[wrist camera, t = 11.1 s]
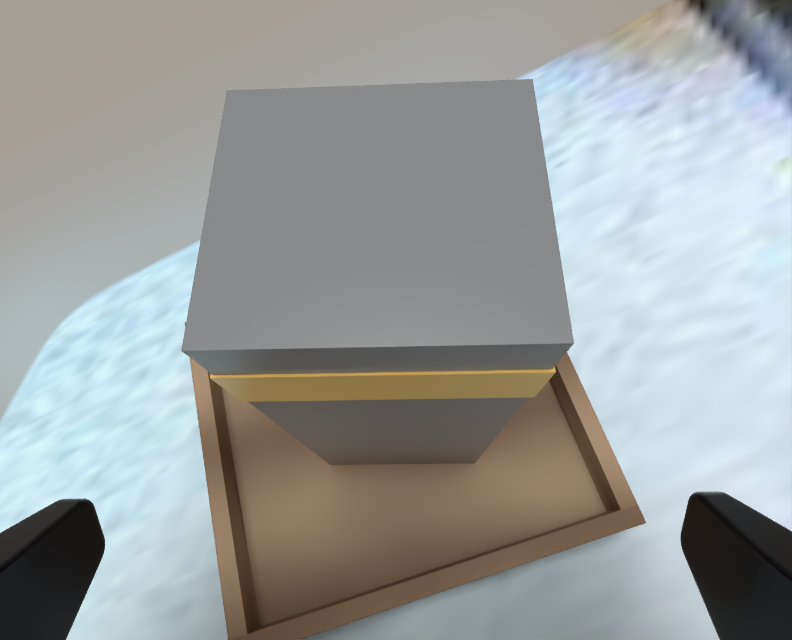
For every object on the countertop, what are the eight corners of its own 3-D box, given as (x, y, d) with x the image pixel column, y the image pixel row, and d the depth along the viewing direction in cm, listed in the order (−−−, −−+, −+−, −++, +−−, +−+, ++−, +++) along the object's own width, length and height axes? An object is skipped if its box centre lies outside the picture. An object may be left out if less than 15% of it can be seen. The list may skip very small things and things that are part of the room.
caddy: (476, 464, 19) (578, 346, 7) (328, 466, 19) (176, 353, 7) (467, 338, 21) (534, 76, 9) (334, 341, 21) (224, 88, 9)
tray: (619, 523, 19) (646, 522, 16) (254, 645, 18) (231, 662, 15) (501, 259, 23) (510, 231, 21) (208, 343, 22) (185, 322, 20)
